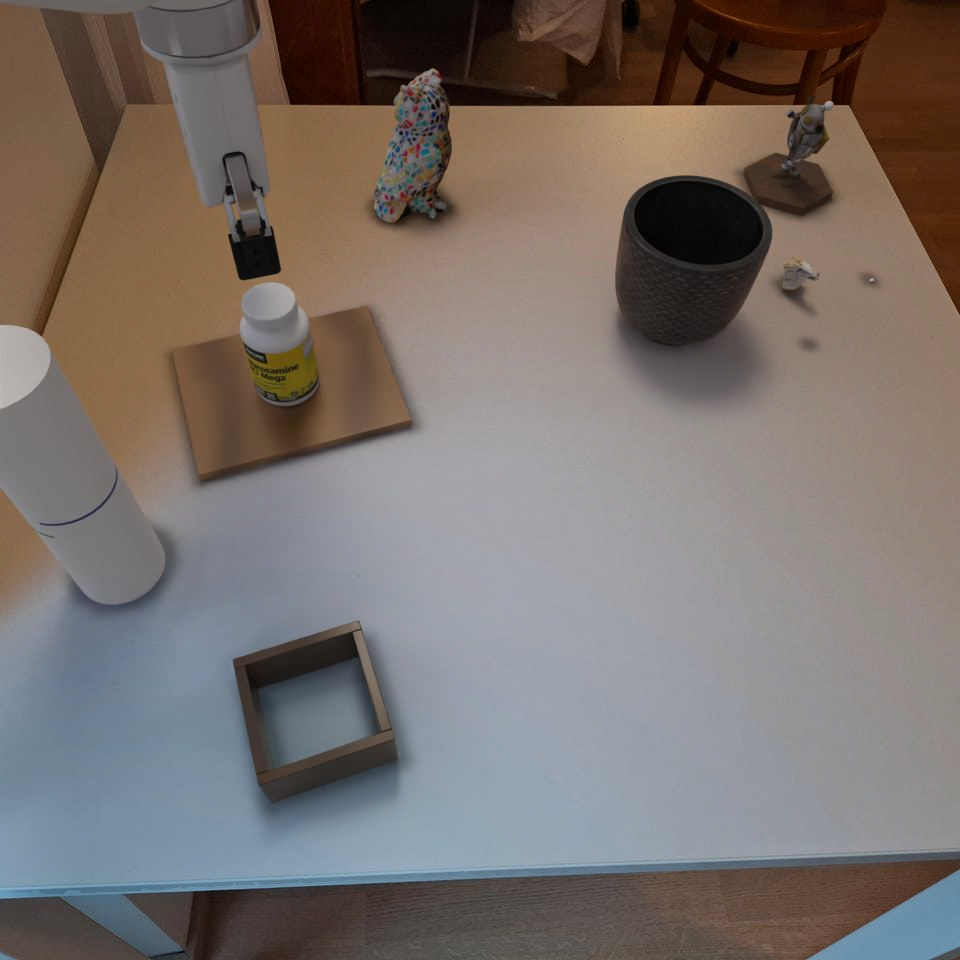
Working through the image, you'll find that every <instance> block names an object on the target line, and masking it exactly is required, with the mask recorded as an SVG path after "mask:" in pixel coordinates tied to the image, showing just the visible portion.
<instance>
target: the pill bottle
mask: <svg viewBox="0 0 960 960" xmlns="http://www.w3.org/2000/svg"><path fill="white" fill-rule="evenodd" d="M240 305H241V311H242V317H241V319H240V322H239V335H241V339H242V342H243V346H244V349H245V353H246V357H247V360H248V364H249V367H250V371H251V375H252V378H253V381H254V385H255V388H256V390H257V392H258V394H259V395H260V396H261V397H262V398H263V399H264V400H265V401H267V402H269V403H271V404H274V405H278V406H293V405H297V404H300V403H302V402H304V401H305V400H307V399H308V398H310V397H311V396H312V395H313V394H314V392H315V391H316V389H317V387H318V384H319V371H318V366H317V361H316V356H315V350H314V345H313V340H312V334H311V329H310V323H309V319H310V318H309V317H308V314H307V313H306V311H305V310H304V308H302V307H301V306H300V305H299V304H298V301H297V297H296V294H295V291H293V289H292V288H290V287H289V286H288V285H285V284H283V283H280V282H272V281H271V282H270V281H269V282H262V283H260V284H259V283H258V284H256V285H254V286H252V287H250V288H249V289H248V290H247V291H246V292H245V293H244V294H243V295H242V298H241V303H240Z"/></svg>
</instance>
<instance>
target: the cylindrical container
mask: <svg viewBox="0 0 960 960" xmlns="http://www.w3.org/2000/svg"><path fill="white" fill-rule="evenodd" d="M0 489H1V491H3V493H4V494H5V495H6V496H7V498H8V499H9V500H10V501H11V504H13V505H14V507H15V508H16V509H17V510H18V512H19V513H20V514H21V515H22V517H23V518H24V519H25V520H26V522H27V523H28V524H29V525H30V527H31V528H32V529H33V530H34V532H35V533H36V534H37V536H38V537H39V538H40V539H41V541H42V542H43V543H44V545H45V546H46V547H47V549H48V550H49V551H50V552H51V553H52V554H53V556H54V557H55V558H56V559H57V561H58V562H59V563H60V565H61V566H62V567H63V568H64V570H65V571H66V572H67V574H69V576H70V577H71V578H72V580H73V581H74V582H75V584H76V585H77V586H78V588H79V589H80V590H81V591H82V592H83V594H85V595H86V596H87V598H89V599H90V600H93V601H94V602H96V603H98V604H103V605H110V606H113V605H122V604H126V603H130V602H132V601H135V600H138V599H139V598H141V597H143V596H144V595H146V594H147V593H148V592H150V590H152V589H153V588H154V587H155V585H156V584H157V583H158V582H159V580H160V578H161V576H162V575H163V573H164V570H165V567H166V552H165V549H164V547H163V545H162V543H161V541H160V540H159V538H158V535H156V533H155V531H154V529H153V527H152V525H151V524H150V522H149V520H148V519H147V517H146V514H145V513H144V512H143V510H142V508H141V506H140V504H139V503H138V501H137V498H135V495H134V494H133V492H132V490H131V488H130V487H129V485H128V483H127V481H126V480H125V478H124V475H122V473H121V471H120V469H119V467H118V466H117V464H116V462H115V461H114V458H113V457H112V454H111V453H110V451H109V450H108V447H107V446H106V445H105V443H104V441H103V439H102V437H101V435H100V434H99V432H98V431H97V429H96V427H95V425H94V424H93V422H92V420H91V418H90V417H89V414H88V413H87V411H86V409H85V408H84V406H83V404H82V402H81V401H80V399H79V397H78V395H77V393H76V392H75V390H74V388H73V386H72V385H71V383H70V381H69V379H68V378H67V376H66V374H65V373H64V370H63V369H62V367H61V365H60V363H59V362H58V360H57V359H56V356H55V355H54V353H53V351H52V349H51V348H50V345H49V344H48V343H47V341H46V340H45V338H44V337H42V336H41V335H40V334H39V333H37V331H35V330H32V329H31V328H28V327H24V326H19V325H11V324H0Z"/></svg>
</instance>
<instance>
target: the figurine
mask: <svg viewBox="0 0 960 960" xmlns="http://www.w3.org/2000/svg"><path fill="white" fill-rule="evenodd" d="M442 86H443V85H442V76H441V73H440V72H439V70H437V69H435V68H434V67H432V68H431V69H429V70H426V71H423V72H422V73H421V74H419V75H417V76H416V77H415V78H414V79H413V80H411V81H410V82H409V83H408V84H407V85H405V84H402V85H400V89H399V92H398V93H397V94H396V95H395V96H394V99H393V105H394V113H393V117H394V118H395V120H396V121H398V124H397V125H396V127H395V129H394V130H393V131H392V134H391V138H390V140H389V142H388V148H387V150H386V153H385V157H384V161H383V166H382V169H381V172H380V175H379V177H378V179H377V182H376V184H375V188H374V194H373V195H374V204H373V205H374V210H375V214H376V216H377V217H378V218H379V219H381V220H383V222H386V223H389V224H398V223H399V222H400V221H402V220H403V219H404V218H407V217H409V216H410V215H411V214H417V213H425V214H426V215H427V216H428V217H429V218H430V219H436V218H437V215H438V213H444V212H446V211H447V210H448V205H447V203H445V202H444V201H442V198H441V195H437V194H438V190H437V189H438V186H439V185H440V184H441V182H442V180H443V179H444V177H445V173H446V171H447V169H448V167H449V164H450V161H451V157H452V149H453V144H452V141H453V139H452V136H451V132H450V131H449V121H450V116H451V114H450V111H451V107H450V101H449V98H448V96H447V94H446V92H445V90H444V88H443V87H442Z"/></svg>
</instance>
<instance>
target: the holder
mask: <svg viewBox="0 0 960 960" xmlns="http://www.w3.org/2000/svg"><path fill="white" fill-rule="evenodd" d="M368 647H369V646H368V644H367V640H366V637H365V633H364V631H363V627H362V624H361V621H360V620H359V619H358V620H355V621H351V622H348V623H345V624H342V625H339V626H335V627H331V628H329V629H326V630H322V631H319V632H315V633H312V634H310V635H306V636H302V637H299V638H297V639H292V640H290V641H287V642H283V643H280V644H277V645H274V646H273V645H272V646H270V647H267V648H264V649H261V650H258V651H254V652H251V653H248V654H244V655H241V656H238V657H235V658H232V664H233V669H234V674H235V679H236V684H237V690H238V694H239V699H240V702H241V703H240V704H241V709H242V713H243V718H244V724H245V729H246V733H247V738H248V742H249V747H250V752H251V756H252V762H253V768H254V773H255V775H256V782H257V786H258V787H259V789H260V790H261V791H262V792H263V794H264V795H265V797H266V798H267V799H268V801H269V802H270V804H272V805H273V804H276V803H278V802H281V801H284V800H288V799H291V798H293V797H296V796H299V795H302V794H304V793H308V792H310V791H314V790H315V789H318V788H319V789H320V788H322V787H324V786H327V785H331V784H334V783H336V782H339V781H342V780H344V779H345V780H346V779H348V778H350V777H353V776H357V775H358V774H362V773H365V772H368V771H371V770H373V769H377V768H379V767H382V766H384V765H387V764H391V763H394V762H398V761H399V759H400V758H399V752H398V746H397V741H396V737H395V733H394V731H393V727H392V724H391V720H390V717H389V713H388V710H387V708H386V703H385V701H384V697H383V693H382V690H381V686H380V684H379V681H378V677H377V674H376V671H375V667H374V665H373V661H372V658H371V657H372V656H371V654H370V651H369V648H368ZM355 659H358V663H359V666H360V670H361V674H362V677H363V681H364V683H365V688H366V691H367V694H368V698H369V701H370V704H371V707H372V711H373V715H374V717H375V721H376V725H377V729H378V732H379V733H375V734H373V735H370V736H367V737H364V738H361V739H358V740H356V741H352V742H349V743H346V744H344V745H340V746H338V747H335V748H332V749H329V750H326V751H322V752H320V753H316V754H314V755H311V756H308V757H305V758H302V759H299V760H297V761H293V762H290V763H287V764H285V765H282V766H278V767H276V766H275V765H276V764H275V760H274V756H273V753H272V747H271V743H270V738H269V733H268V730H267V724H266V719H265V715H264V710H263V706H262V702H261V698H260V697H261V696H260V693H259V690H260V689H264V688H266V687H269V686H273V685H276V684H280V683H283V682H286V681H288V680H291V679H294V678H299V677H301V676H305V675H307V674H311V673H314V672H317V671H320V670H323V669H327V668H330V667H333V666H336V665H339V664H342V663H345V662H348V661H352V660H355Z"/></svg>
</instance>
